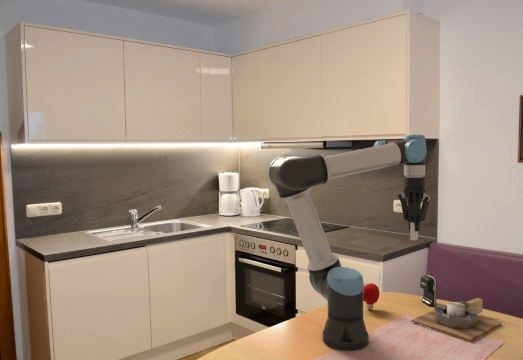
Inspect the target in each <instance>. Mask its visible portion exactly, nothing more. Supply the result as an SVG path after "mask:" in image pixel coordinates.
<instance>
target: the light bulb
mask: <svg viewBox="0 0 523 360" xmlns="http://www.w3.org/2000/svg"><path fill="white" fill-rule="evenodd" d="M379 298H380V289H379V287H378V286H377V285H376V284H375V283H367V284H366V285H364V289H363V302H365V304H366V305H365V306H366V309H367V310H369V311H372V310H373V309H374V304H376V303H377V302H378V301H379Z"/></svg>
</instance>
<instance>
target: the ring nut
mask: <svg viewBox="0 0 523 360" xmlns="http://www.w3.org/2000/svg"><path fill="white" fill-rule="evenodd" d="M483 300H484V299H482V298H479V297H475V298H473V299H470V300H468V301H464V302H465V317H456V313H450V314H449V315H447V304H442V305H440V304H436V306H435V307H434V308H433V310H434V317H435V320H436V322H438V323H440V324H443V325H446V326H449V327H453V328H472V327H474V326H477V325H479V316H480V315H478V314H481V313H483Z"/></svg>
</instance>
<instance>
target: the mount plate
mask: <svg viewBox="0 0 523 360" xmlns="http://www.w3.org/2000/svg"><path fill="white" fill-rule="evenodd" d="M465 302H466V301H463V300H459V301H456V302H455V301H450V302H447V304H446V305H447V315H449V314H450V313H456V317H465ZM478 316H479V325H477V326H474V327H472V328H453V327H449V326H446V325H443V324H440V323H438V322H436V320H435V317H434V309H433V310H431V311H428V312H426V313H424V314H422V315H420V316H417V317H415V318H412V319H411V321H410V323H411V322H414V323H417V324H420V325H423V326H426V327H429V328H431V329H430V330H432V329H434V330H433V331H435V330H437V331H436V332H438V331H439V333H441V332H442V333H441V334H444V333H445V335H447V334H448V335H447V336H450V335H451V336H450V337H453V336H454V337H453V338H456V339H459V340H462V341H466V342H468V343H472V342H474V341H476V340H477V339H479V338H480V337H482V336H484V335H486V334H488V333H490V332H491V331H494V330H496V329H497V328H499V327H500V326H502V322H501V321H497V320H495V319H491V318H487V317H484V316H482V315H481V316H480V315H478ZM414 323H413V324H414ZM417 324H416V325H417ZM420 325H419V326H420ZM423 326H422V327H423ZM426 327H425V328H426ZM429 328H428V329H429ZM473 340H474V341H473ZM471 341H472V342H471Z"/></svg>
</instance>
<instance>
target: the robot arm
mask: <svg viewBox="0 0 523 360" xmlns="http://www.w3.org/2000/svg"><path fill="white" fill-rule="evenodd" d="M427 152H428V151H427V144H426V136H425V135H424V134H405V135H404V137H403V139H401V140H400V139H397V140H396V139H395V140H394V139H393V140H392V139H391V140H385V139H384V140H376V141H375V142H374V144H373V146H371V147H366V148H362V149H357V150H351V151H345V152H341V153H336V154H332V155H326V156H324V155H323V154H321V153H320V154H315V155H295V154H294V155H293V154H283V155H279V156H277V157H275V158H274V159H273V160H272V161H271V162H270V164H269V167H268V171H267V173H268V178H269V180H270V182H271V183H272V185H274V186H275V188H276V192H277V193H278V196H279V198H280V200H283V201H285V202H286V204H287V207H288V209H289V212H290V214H291V217H292V220H293V223H294V225H295V228H296V230H297V232H298V236H299V238H300V240H301V243H302V246H303V249H304V251H305V254H306V256H307V259H308V263H307V270H308V273H309V274H308V279H309V282H310V284H311V286H312V288H313V290H314V291H315V292H317V293H318V294H319V295H321V296H322V297H323V298H324V299H325V300H326V301H327V318H326V321H325V325H324V328H323V331H322V342H323V343H324V345H326V346H327V347H330V348H332V349H335V350H341V351H356V350H357V351H358V350H361V349H364V348H366V347H367V346H369V343H370V337H369V336H370V335H369V333H368V331H367V328H366V324H365V319H364V301H363V289H364V286H365V285H364V284H365V282H364V278H363V274H361V272H360V271H358V270H356V269H355V268H350V267H346V266H342V263H341V261H340V259H339V256H338V255H337V254H336V253H332V249H331V246H330V243H329V241H328V239H327V236H326V233H325V231H324V228H323V226H322V223H321V221H320V218H319V215H318V212H317V209H316V208H315V205H314V201H313V200H312V196H311V194H310V191H311V188H312V187H317V186H321V185H325V184H328V182H330V181H329V180H332V179H338V178H343V177H348V176H352V175H356V174H360V173H365V172H370V171H375V170H379V169H383V168H384V169H385V168H389V167H393V166H398V165H403V175H404V176H405V177H404V178H403V187H404V190H403V192H401V193H400V194H399V193H398V195H397V197H398V199H399V201H400V206H401V211H402V215H403V219H404V220H405V221H407V223H408V231H409V235H410V236H409V240H410V241H417V240H419V232H420V230H421V222H425V221H426V217H427V212H428V209H429V208H428V207H429V204H430V202H431V201H432V195H428V194H427V193H426V192H427V191H426V189H425V188H426V177H425V176H426V155H427Z"/></svg>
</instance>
